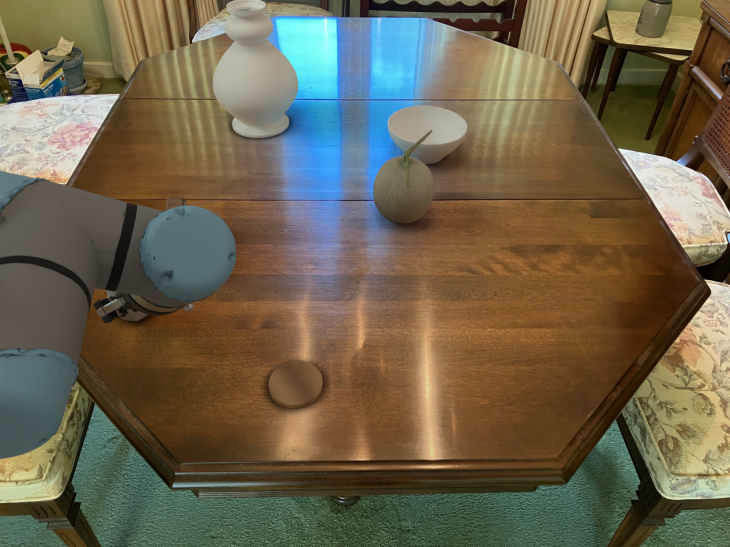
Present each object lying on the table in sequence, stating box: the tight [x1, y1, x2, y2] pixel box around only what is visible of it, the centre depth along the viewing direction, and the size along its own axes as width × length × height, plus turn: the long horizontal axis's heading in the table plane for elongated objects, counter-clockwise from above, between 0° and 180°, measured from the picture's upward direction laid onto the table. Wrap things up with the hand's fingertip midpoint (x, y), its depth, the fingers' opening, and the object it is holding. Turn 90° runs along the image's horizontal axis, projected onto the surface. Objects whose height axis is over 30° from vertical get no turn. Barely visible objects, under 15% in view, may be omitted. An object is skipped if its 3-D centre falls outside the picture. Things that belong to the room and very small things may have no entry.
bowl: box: [387, 105, 469, 165], centre depth 112 cm, size 16×16×7 cm
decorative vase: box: [212, 0, 299, 139], centre depth 114 cm, size 18×18×25 cm
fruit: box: [372, 130, 435, 225], centre depth 94 cm, size 10×12×15 cm
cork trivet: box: [268, 360, 324, 409], centre depth 72 cm, size 7×7×1 cm
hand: (135, 301), depth 77 cm, fingers closed
